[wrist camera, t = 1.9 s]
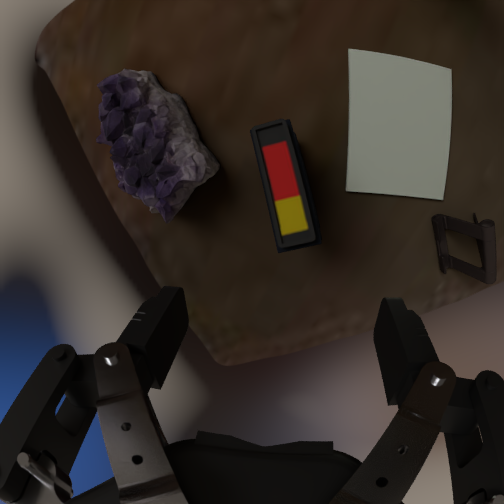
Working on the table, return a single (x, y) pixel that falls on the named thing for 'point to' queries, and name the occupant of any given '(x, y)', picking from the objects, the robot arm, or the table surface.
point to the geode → (152, 142)
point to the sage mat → (398, 125)
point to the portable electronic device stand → (485, 243)
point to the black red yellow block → (286, 186)
